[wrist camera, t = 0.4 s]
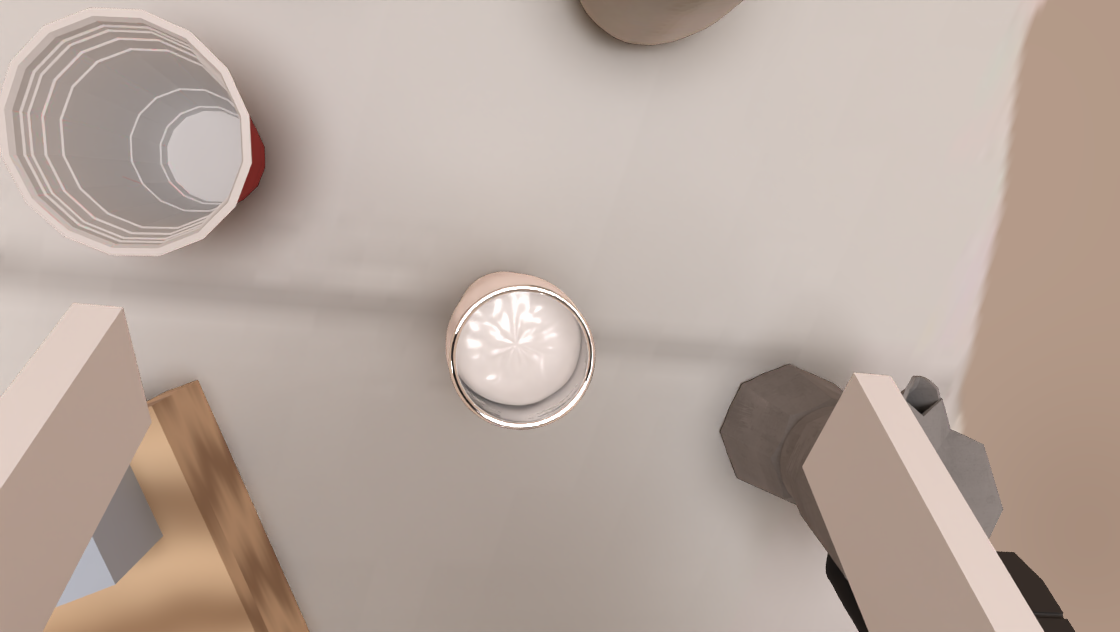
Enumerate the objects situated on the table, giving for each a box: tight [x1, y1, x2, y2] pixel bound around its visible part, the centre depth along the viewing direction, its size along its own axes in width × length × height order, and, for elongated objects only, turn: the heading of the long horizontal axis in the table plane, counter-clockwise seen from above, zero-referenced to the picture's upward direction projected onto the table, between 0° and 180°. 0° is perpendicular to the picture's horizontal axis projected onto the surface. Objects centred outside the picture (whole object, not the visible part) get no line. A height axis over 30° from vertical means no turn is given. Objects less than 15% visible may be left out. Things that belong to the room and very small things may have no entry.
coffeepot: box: [720, 364, 1003, 632], centre depth 42 cm, size 15×9×18 cm, turn 179°
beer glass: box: [446, 271, 595, 430], centre depth 40 cm, size 7×7×15 cm
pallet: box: [43, 380, 309, 632], centre depth 43 cm, size 24×10×7 cm, turn 20°
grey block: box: [56, 465, 163, 607], centre depth 36 cm, size 6×6×6 cm
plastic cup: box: [0, 7, 265, 256], centre depth 38 cm, size 11×11×12 cm
